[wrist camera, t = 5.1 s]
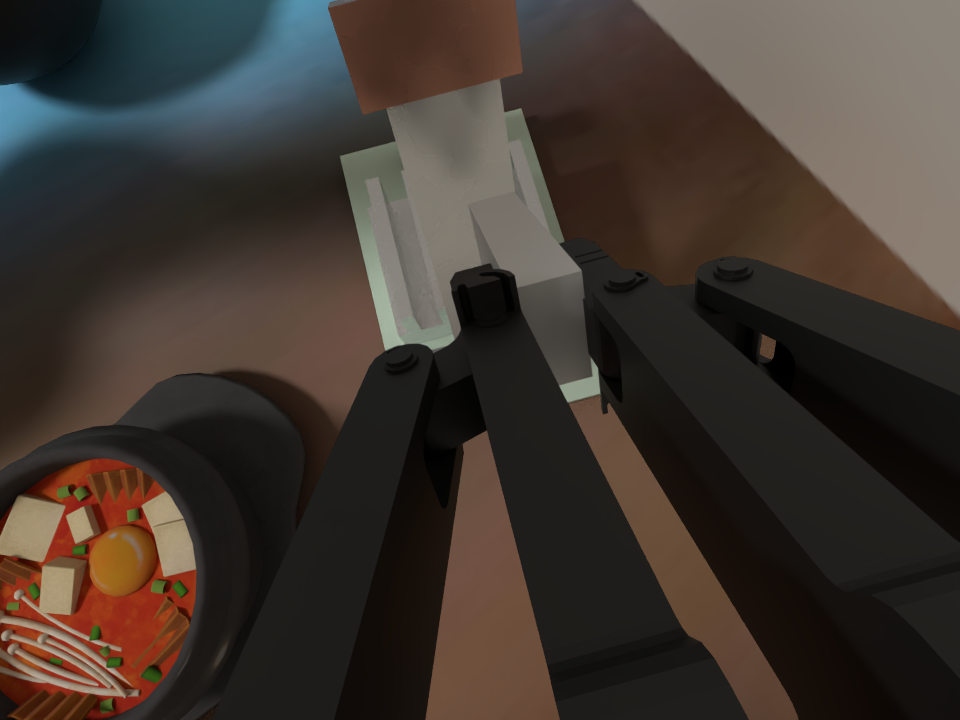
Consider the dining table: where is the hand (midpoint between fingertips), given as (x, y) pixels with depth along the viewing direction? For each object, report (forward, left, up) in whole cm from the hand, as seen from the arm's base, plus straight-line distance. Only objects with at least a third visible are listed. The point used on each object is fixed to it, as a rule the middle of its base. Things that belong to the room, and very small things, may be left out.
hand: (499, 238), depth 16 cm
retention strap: (-3, +1, -5) cm, 6 cm away
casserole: (-6, -25, -19) cm, 32 cm away
